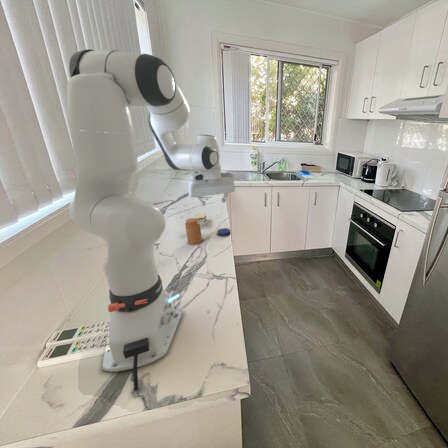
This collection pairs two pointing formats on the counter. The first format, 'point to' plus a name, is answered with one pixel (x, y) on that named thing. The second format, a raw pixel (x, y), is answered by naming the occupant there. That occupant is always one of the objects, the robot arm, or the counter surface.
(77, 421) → the counter surface
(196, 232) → the jar
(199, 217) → the stacked layers on plate
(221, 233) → the lid
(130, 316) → the robot arm
